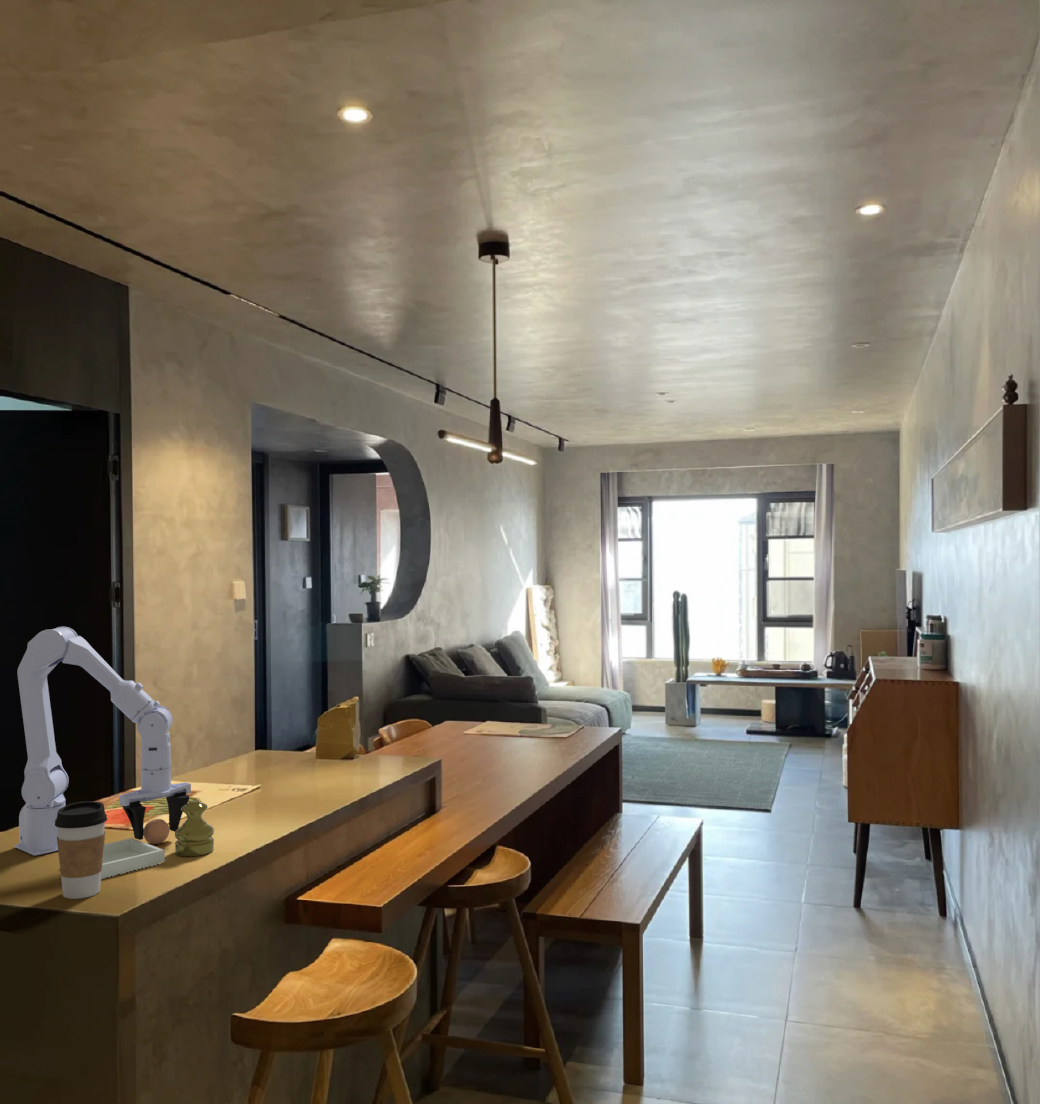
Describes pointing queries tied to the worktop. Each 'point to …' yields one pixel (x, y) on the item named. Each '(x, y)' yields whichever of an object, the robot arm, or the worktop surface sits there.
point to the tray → (129, 857)
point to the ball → (156, 831)
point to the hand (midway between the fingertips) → (156, 834)
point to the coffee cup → (81, 847)
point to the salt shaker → (194, 832)
